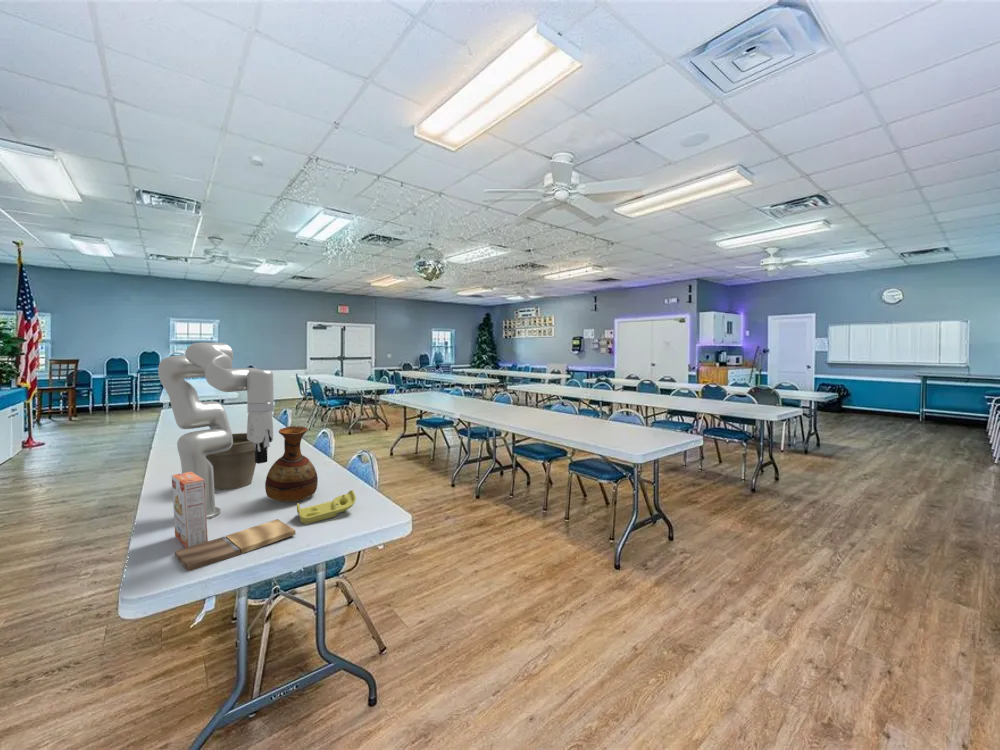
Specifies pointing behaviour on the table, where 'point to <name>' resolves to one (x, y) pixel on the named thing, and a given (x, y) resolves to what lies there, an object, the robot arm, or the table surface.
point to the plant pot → (234, 464)
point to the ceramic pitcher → (291, 470)
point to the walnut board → (206, 553)
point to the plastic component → (326, 508)
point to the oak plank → (260, 535)
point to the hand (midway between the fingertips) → (261, 462)
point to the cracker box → (189, 508)
